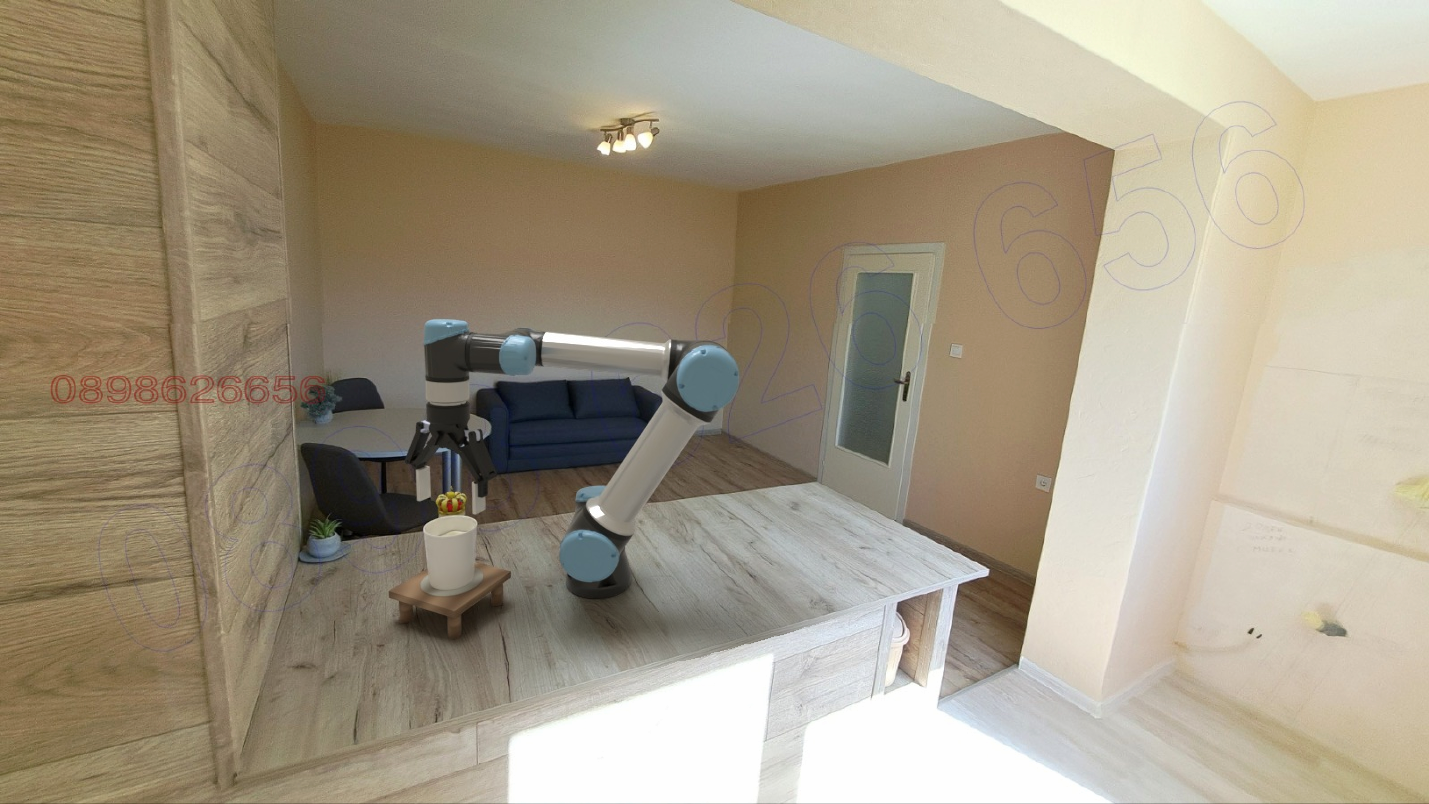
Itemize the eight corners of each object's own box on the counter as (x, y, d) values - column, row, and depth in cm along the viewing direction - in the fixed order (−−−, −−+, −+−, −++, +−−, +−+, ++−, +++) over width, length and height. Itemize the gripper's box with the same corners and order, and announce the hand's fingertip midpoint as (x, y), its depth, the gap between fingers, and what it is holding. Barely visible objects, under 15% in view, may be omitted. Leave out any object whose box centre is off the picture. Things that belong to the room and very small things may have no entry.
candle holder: (413, 587, 107) (411, 531, 105) (447, 564, 116) (446, 512, 114) (457, 596, 105) (455, 539, 103) (488, 572, 115) (487, 519, 112)
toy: (473, 539, 142) (472, 486, 139) (447, 549, 136) (445, 493, 133) (457, 531, 146) (456, 479, 143) (431, 540, 140) (429, 486, 137)
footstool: (510, 600, 117) (511, 570, 116) (455, 644, 102) (454, 610, 101) (451, 583, 122) (451, 554, 121) (390, 622, 107) (388, 589, 106)
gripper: (516, 406, 103) (516, 510, 107) (413, 389, 110) (417, 487, 114) (488, 414, 96) (489, 524, 100) (380, 395, 103) (386, 499, 107)
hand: (451, 505), depth 107 cm, fingers open, 13 cm apart
